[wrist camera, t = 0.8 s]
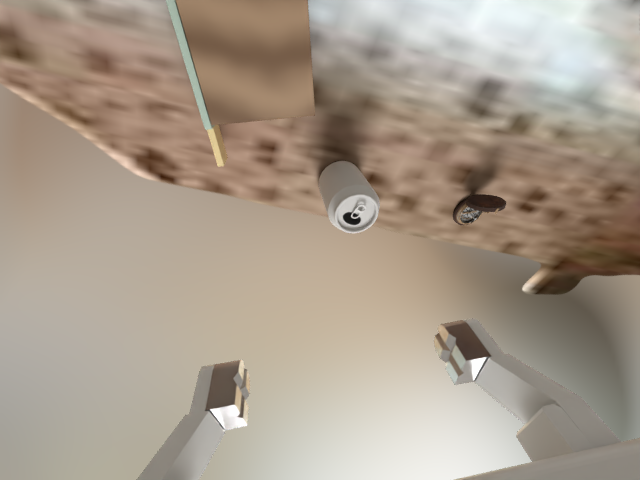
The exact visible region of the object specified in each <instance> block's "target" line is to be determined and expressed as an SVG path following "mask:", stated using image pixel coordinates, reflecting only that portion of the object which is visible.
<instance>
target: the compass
mask: <svg viewBox="0 0 640 480" xmlns="http://www.w3.org/2000/svg"><path fill="white" fill-rule="evenodd" d="M505 206H506V201H505V200H503V199H502V198H500V197H497V196H493V195H474V196H471V197H469V198H467V199H466V200H464V201H462V202H461V203H460V204H459V205H458V206H457V207H456V209H455V211H454V214H453V219H454V221H455V222H456V223H458V224H459V225H468V224H471V223H473V222H474V221H476V220H477V219H478V218H479V217H480V216H481V215H482V213H483V211H484V213H486V212H487V213H489V212H495V214H496V213H497V211H500V210H503V209H504V208H505Z"/></svg>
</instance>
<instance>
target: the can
mask: <svg viewBox="0 0 640 480" xmlns="http://www.w3.org/2000/svg"><path fill="white" fill-rule="evenodd" d="M319 189H320V193H321V196H322V199H323V201H324V204H325V207H326V210H327V213H328V216H329V219H330V221H331V222H332V224H333V225H334V226H335V227H337V228H338V229H340V230H342V231H344V232H347V233H359V232H362V231H364V230H366V229H368V228H369V227H370V226H371V225H372V224H374V222H375V221H376V219H377V217H378V212H379V207H380V203H379V198H378V196H377V194H376V192H375V191H374V189H373V188H372V187H371V185H370V184H369V183H368V181H367V180H366V178H365V177H364V176H363V174H362V173H361V172H360V170H359V169H358V168H357V167H356V166H355V165H354V164H353V163H350V162H347V161H338V162H334V163H332V164H330V165H329V166H327V167H326V168H325V169H324V170H323V172H322V173H321V176H320V178H319Z"/></svg>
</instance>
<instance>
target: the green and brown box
mask: <svg viewBox="0 0 640 480" xmlns="http://www.w3.org/2000/svg"><path fill="white" fill-rule="evenodd" d="M176 3H177V6H178V10H179V13H180V17H181V20H182V24H183V27H184V31H185V34H186V38H187V41H188V45H189V48H190V52H191V55H192V58H193V62H194V65H195V69H196V72H197V76H198V79H199V83H200V86H201V90H202V93H203V97H204V100H205V104H206V107H207V111H208V114H209V118H210V121H211V125H220V124H230V123H241V122H251V121H262V120H272V119H283V118H294V117H304V116H315V107H314V92H313V76H312V61H311V45H310V30H309V14H308V0H176Z"/></svg>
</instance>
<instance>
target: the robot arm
mask: <svg viewBox="0 0 640 480" xmlns="http://www.w3.org/2000/svg"><path fill="white" fill-rule="evenodd" d="M437 330H438V332H439V333H438V334H437V335H435V338H434V346H435V349H436V352H437V354H438V356H439V358H440V359H442V360H443V361H445V362H446V370H447V372H448V374H449V376H450V378H451V379H452V381H453V383H454V385H456V384H462V383H469V382H475V383H476V384H477V385H478V386H479V387H480V388H482V389H483V390H484V391H485V392H486V393H488V394H489V395H490V396H491V397H492V398H494V399H495V400H496V401H497V402H498V403H500V404H501V405H502V406H503V407H504V408H506V409H507V410H508V411H509V412H510V413H512V414H513V415H514V416H515V417H516V418H518V419H519V420H520V421H521V422H523V423H524V424H525V425H524V426H523V427H522V428H521V429H520V430H519V431H518V432H517V438H518V440H519V442H520V443H521V445H522V446H523V448H524V449H525V451H526V453H527V454H528V456H529V457H530V459H531V461H532V462H530V463H526V464H521V465H517V466H512V467H508V468H503V469H499V470H495V471H490V472H486V473H482V474H477V475H473V476H468V477H464V478H459V479H455V480H640V438H637V439H632V440H627V441H623V442H621V441H620V440H619V439H618V438H617V437H616V435H615V434H614V433H613V432H612V431H611V430H610V429H609V428H608V426H607V425H606V424H605V423H604V422H603V421H602V420H601V419H600V418H599V416H598V415H597V414H596V413H595V412H594V411H593V410H592V409H591V408H590V406H589V405H588V404H587V403H586V402H585V401H584V400H583V399H582V398H581V397H580V396H578V395H577V394H575V393H573V392H572V391H570V390H568V389H567V388H565V387H563V386H562V385H560V384H558V383H557V382H555V381H553V380H552V379H550V378H548V377H546V376H545V375H543V374H541V373H540V372H538V371H536V370H535V369H533V368H531V367H530V366H528V365H526V364H525V363H523V362H521V361H520V360H518V359H516V358H515V357H513V356H511V355H510V354H504V352H503V351H502V350H501V349H500V347H499V346H498V345H497V343H496V342H495V341H494V340H493V338H492V337H491V336H490V335H489V333H488V332H487V331H486V330H485V328H484V327H483V326H482V324H481V323H480V322H479V321H478V320H477V319H473V318H472V319H467V320H460V321H455V322H450V323H445V324H441V325H439V326H438V328H437ZM249 394H250V377H249V373H248V371H247V370H246V369H244V362H243V360H237V361H231V362H225V363H220V364H213V365H208V366H203V367H201V369H200V371H199V375H198V379H197V383H196V388H195V392H194V396H193V401H192V405H191V409H190V413H189V414H188V415H185V416H184V417H183V419H182V420H181V421H180V423H179V424H178V425H177V427H176V428H175V429H174V431H173V432H172V433H171V435H170V436H169V437H168V439H167V440H166V441H165V443H164V444H163V445H162V447H161V448H160V449H159V451H158V452H157V454H156V455H155V456H154V457H153V459H152V460H151V461H150V463H149V464H148V465H147V467H146V468H145V469H144V471H143V472H142V473H141V475H140V476H139V477H138V479H137V480H199V479H200V478H201V476H202V474H203V472H204V470H205V468H206V466H207V465H208V463H209V461H210V459H211V457H212V455H213V453H214V452H215V450H216V448H217V446H218V444H219V442H220V441H221V439H222V437H223V435H224V433H225V430H230V429H234V428H238V427H243V426H247V423H248V410H249V406H248V404H247V402H246V398H247V397H248V396H249Z"/></svg>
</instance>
